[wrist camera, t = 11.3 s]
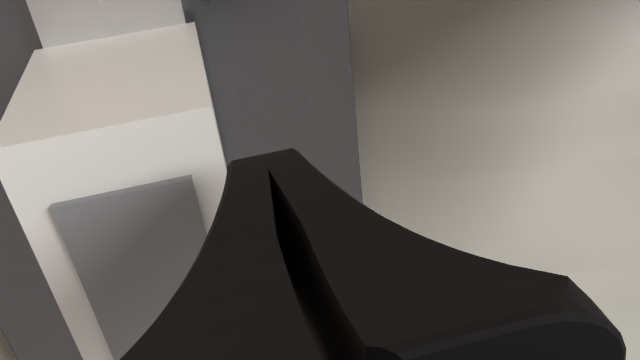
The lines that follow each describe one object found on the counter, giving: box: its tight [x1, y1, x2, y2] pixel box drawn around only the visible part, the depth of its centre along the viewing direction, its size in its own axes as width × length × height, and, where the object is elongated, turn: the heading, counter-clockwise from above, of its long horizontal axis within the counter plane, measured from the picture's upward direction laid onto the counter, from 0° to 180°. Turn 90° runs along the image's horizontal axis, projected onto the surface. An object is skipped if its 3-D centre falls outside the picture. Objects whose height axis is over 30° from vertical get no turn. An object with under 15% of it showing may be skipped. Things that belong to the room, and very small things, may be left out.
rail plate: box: [0, 0, 363, 360], centre depth 20 cm, size 14×18×3 cm
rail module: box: [0, 22, 227, 360], centre depth 17 cm, size 4×8×6 cm, turn 7°
